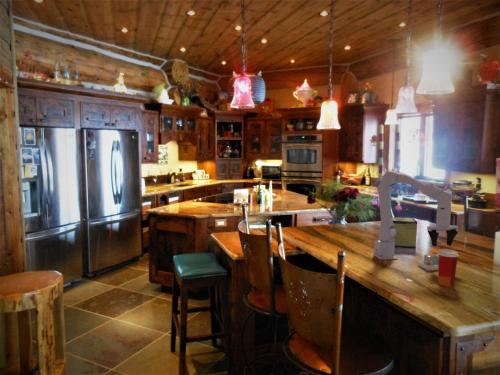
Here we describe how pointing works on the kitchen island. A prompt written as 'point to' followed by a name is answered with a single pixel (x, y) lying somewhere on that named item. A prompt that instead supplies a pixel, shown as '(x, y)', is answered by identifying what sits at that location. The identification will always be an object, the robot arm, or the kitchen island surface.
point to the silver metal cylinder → (428, 259)
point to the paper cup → (447, 267)
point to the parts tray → (426, 267)
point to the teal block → (436, 259)
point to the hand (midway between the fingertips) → (441, 245)
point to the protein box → (405, 232)
